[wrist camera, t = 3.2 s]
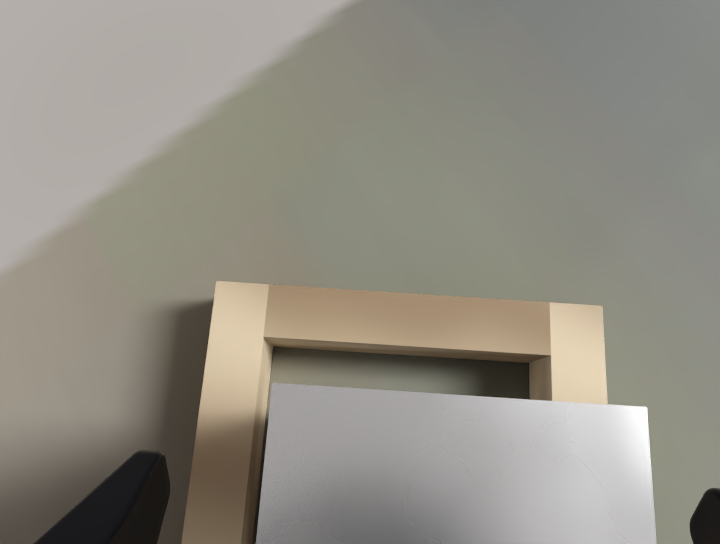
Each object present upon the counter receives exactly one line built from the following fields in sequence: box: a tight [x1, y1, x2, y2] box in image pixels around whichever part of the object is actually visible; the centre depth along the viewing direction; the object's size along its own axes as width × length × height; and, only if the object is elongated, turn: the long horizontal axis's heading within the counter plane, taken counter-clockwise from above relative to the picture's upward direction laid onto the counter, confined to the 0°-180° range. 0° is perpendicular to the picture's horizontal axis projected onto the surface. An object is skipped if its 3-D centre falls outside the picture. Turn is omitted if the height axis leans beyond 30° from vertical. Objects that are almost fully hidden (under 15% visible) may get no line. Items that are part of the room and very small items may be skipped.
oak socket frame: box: [181, 281, 607, 544], centre depth 16 cm, size 11×11×2 cm
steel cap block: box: [256, 383, 656, 544], centre depth 12 cm, size 4×5×10 cm
